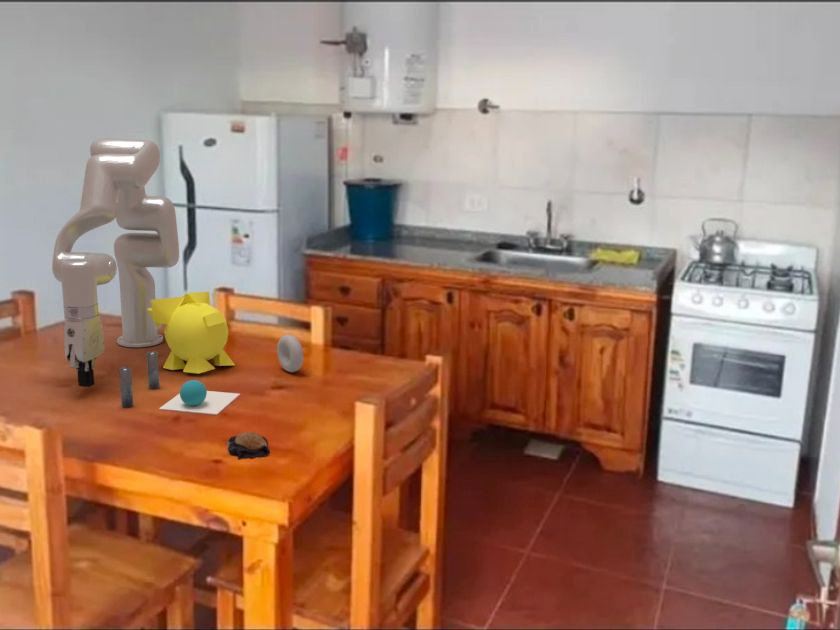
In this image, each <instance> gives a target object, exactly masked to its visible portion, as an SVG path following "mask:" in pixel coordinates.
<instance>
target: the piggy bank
mask: <svg viewBox="0 0 840 630" xmlns="http://www.w3.org/2000/svg"><path fill="white" fill-rule="evenodd" d="M210 298H211V297H210V292H209V291H201V292H200V291H199V292H198V291H196V292H195V291H193V292H186V293H185V294H184V295H183V296H176V297H175V296H174V297H167V298H158V299H157V298H156V299H154V300H151V305H152V308H149V309H147V311H148V312H149V314H150V316H151V318H152V319H153V321H154V323H155V324H156V326H157V327H159V326H161V325H162V326H163V325H165V327H164V329H163V332H164V338H165V342H166V344H167V345H168V346H167V347H169V349H170V353H169V355H168V356H167V358H166V361H165V363H164V365H163V367H162V368H163V369H167V370H171V371H175V370H183V371H182V372H183V373H189V374H190V373H191V374H197V375H198V374H201V373H206V372H208V371H212V370H215V369H216V368H215V366H217V367H221V366H224V367H225V366H236V364H235V363H234V362H233V360H232V359H231V357H230V356H229V355H228V354H227V352H226V351H225V350H224V347H225V346H226V344H227V342H228V336H229V332H230V331H229V327H228V324H227V320H226V317H225V315H224V313H223V311H220V310H219V309H217V308H216V307H214V306H212V305H211V299H210ZM162 326H161V327H162ZM212 359H213V362H214V363H213V364H214V365H212V363H210V362H209V360H212ZM184 361H185V362H186V363H185V362H184Z"/></svg>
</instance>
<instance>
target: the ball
mask: <svg viewBox="0 0 840 630" xmlns="http://www.w3.org/2000/svg"><path fill="white" fill-rule="evenodd" d="M207 391H208V390H207V388H206V386H205V384H204V383H202V382H201V381H199V380H196V379H192V380H187V381H186V382H184V383H183V384H182V386H181V387H180V391H179V393H180V397H181V400H182V401H183V402H184V403H185V404H187V405H189V406H197V405H199V404H201V403H202V402H203V401H204V400H205V398H206V395H207Z"/></svg>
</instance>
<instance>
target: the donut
mask: <svg viewBox="0 0 840 630" xmlns="http://www.w3.org/2000/svg"><path fill="white" fill-rule="evenodd" d="M277 342H278V343H277V346H276V353H277V354H276V355H277V358H278V362H279V364H280V366H281V367H282V368H283V369H284V370H285V371H287V372H289V373H295V372H298V371H299V370H301V367H302V366H303V362H304V351H303V347H302V345H301V342H300V340H299V339H298V338H297V337H296V336H294V335H292V334H285V335H283V336H281V337H280V339H279V340H278V341H277Z"/></svg>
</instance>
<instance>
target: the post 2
mask: <svg viewBox="0 0 840 630" xmlns="http://www.w3.org/2000/svg"><path fill="white" fill-rule="evenodd" d="M146 364H147V365H146V367H147V382H148V383H147V384H148V389H149V390H158V389H159V388H160V386H161V385H160V370H159V369H160V367H159V351H157V350H149V351H147V352H146Z"/></svg>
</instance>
